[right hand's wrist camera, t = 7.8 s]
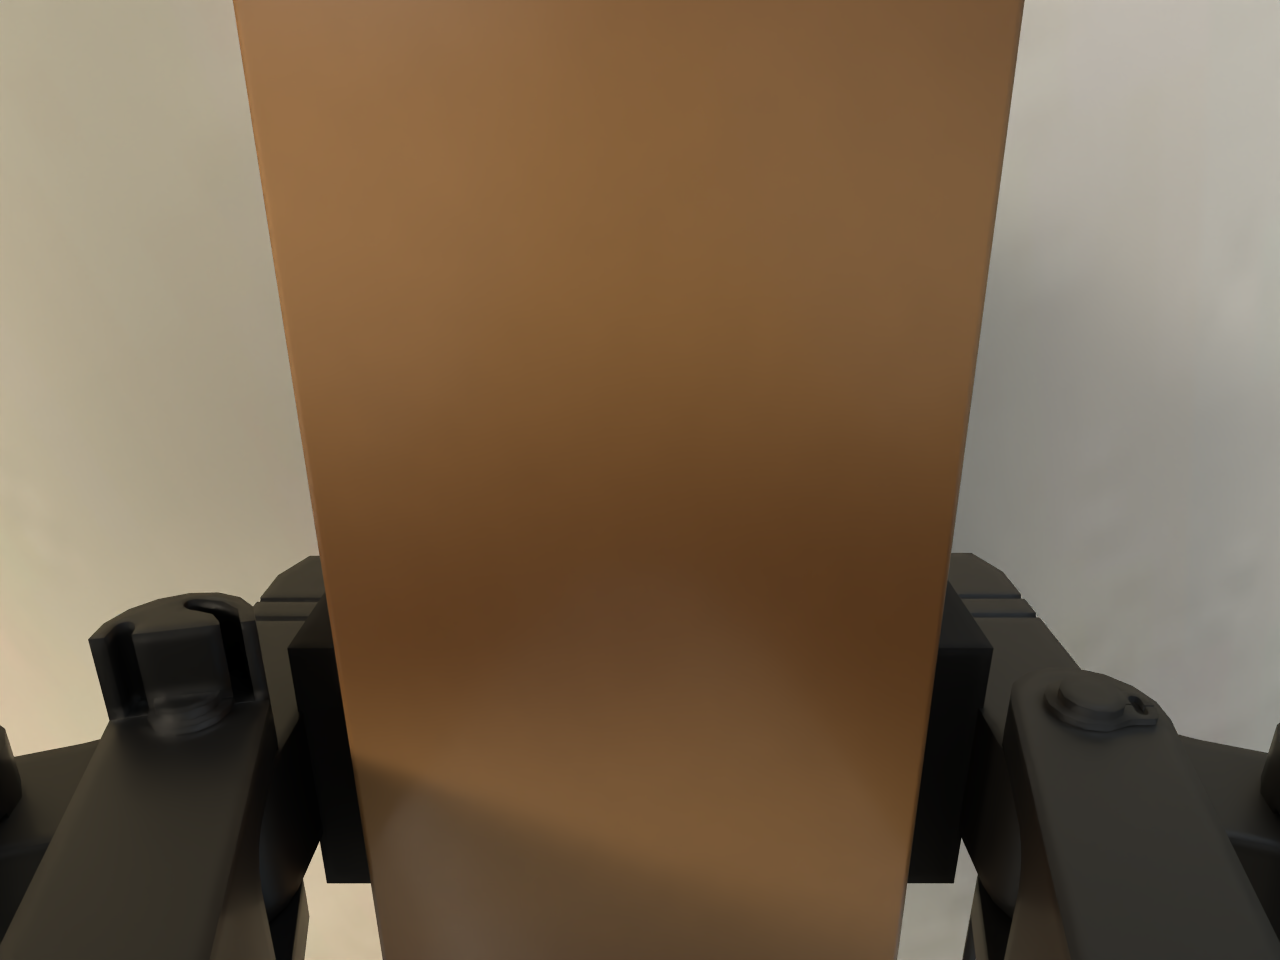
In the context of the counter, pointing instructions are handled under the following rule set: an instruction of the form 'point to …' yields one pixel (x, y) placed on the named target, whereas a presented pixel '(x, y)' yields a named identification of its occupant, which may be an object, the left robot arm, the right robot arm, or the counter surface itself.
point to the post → (633, 445)
